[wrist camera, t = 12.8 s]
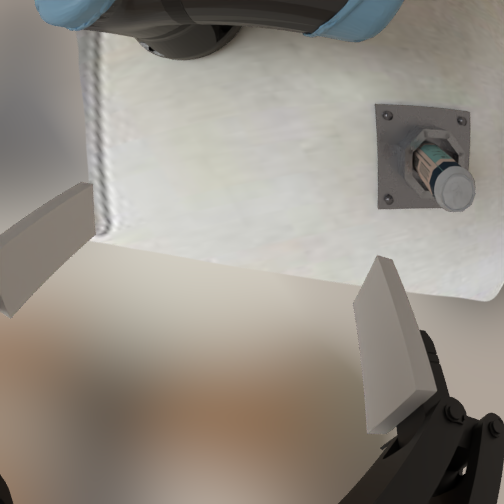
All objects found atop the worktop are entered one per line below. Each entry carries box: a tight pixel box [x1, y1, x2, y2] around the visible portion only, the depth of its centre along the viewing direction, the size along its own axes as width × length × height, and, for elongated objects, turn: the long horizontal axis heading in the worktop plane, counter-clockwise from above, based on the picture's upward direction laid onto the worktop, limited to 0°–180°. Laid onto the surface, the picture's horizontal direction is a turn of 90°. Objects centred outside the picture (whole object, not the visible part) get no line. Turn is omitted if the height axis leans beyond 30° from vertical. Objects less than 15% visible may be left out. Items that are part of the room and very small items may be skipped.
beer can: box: [412, 142, 476, 212], centre depth 27 cm, size 5×5×12 cm
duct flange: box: [375, 104, 470, 209], centre depth 31 cm, size 14×14×4 cm
